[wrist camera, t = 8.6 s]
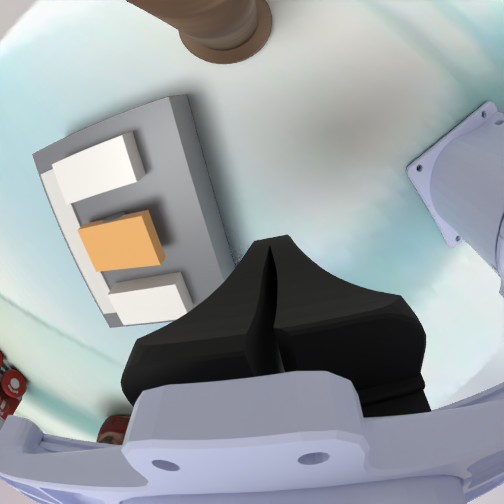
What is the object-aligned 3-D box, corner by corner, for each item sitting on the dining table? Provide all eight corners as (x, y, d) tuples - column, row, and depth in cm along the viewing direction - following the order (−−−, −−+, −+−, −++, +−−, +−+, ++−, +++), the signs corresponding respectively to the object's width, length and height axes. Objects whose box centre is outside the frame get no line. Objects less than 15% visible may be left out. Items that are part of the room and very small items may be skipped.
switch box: (186, 94, 18) (160, 97, 14) (239, 280, 25) (232, 327, 20) (64, 141, 20) (19, 159, 15) (127, 297, 26) (103, 339, 21)
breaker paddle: (153, 204, 17) (141, 215, 16) (170, 251, 19) (160, 265, 17) (90, 219, 19) (77, 229, 17) (107, 259, 20) (96, 271, 19)
